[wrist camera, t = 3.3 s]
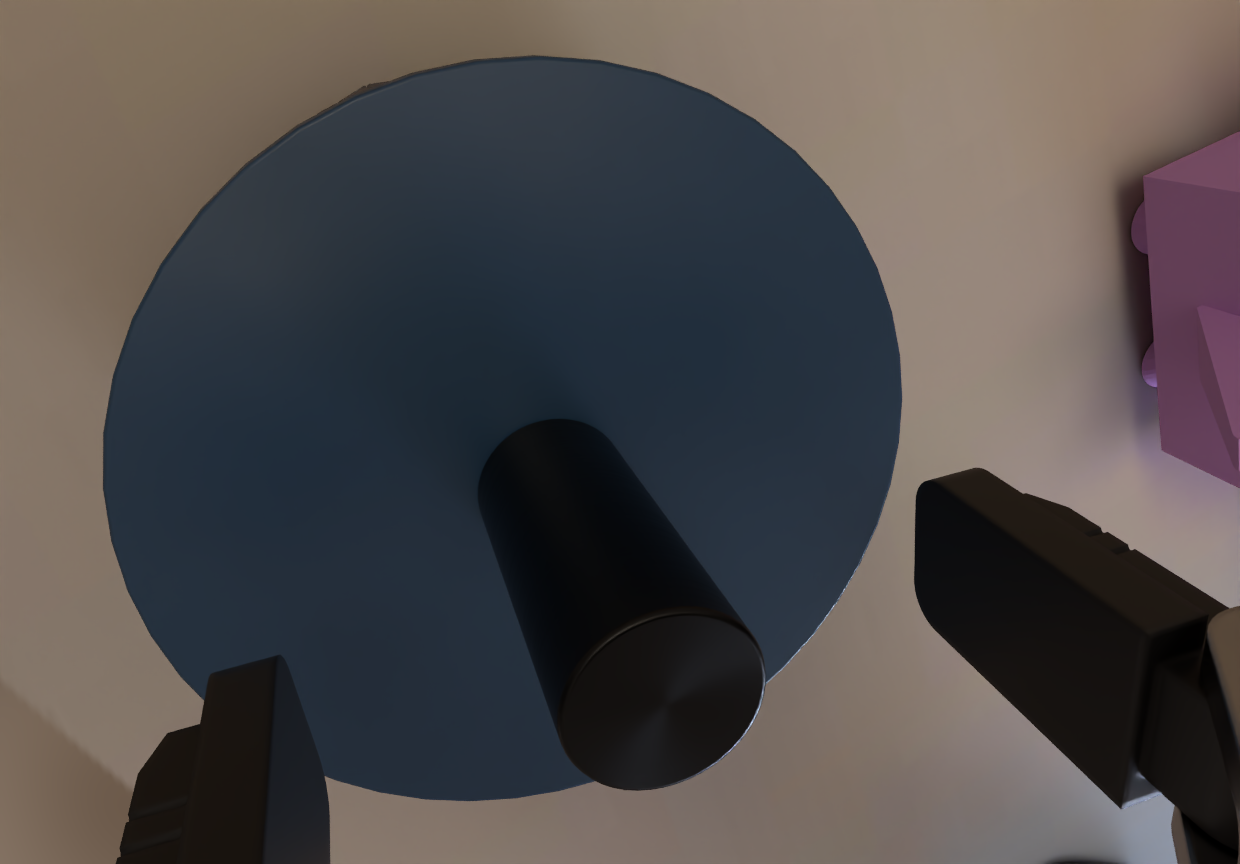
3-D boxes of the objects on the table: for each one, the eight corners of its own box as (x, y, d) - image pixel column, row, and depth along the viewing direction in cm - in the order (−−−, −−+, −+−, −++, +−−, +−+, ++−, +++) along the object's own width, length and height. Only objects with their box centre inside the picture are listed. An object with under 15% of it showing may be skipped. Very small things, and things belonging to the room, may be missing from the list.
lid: (257, 845, 17) (226, 1262, 11) (-33, 130, 12) (-377, 220, 6) (871, 652, 20) (1101, 906, 14) (868, 0, 14) (1242, -23, 9)
